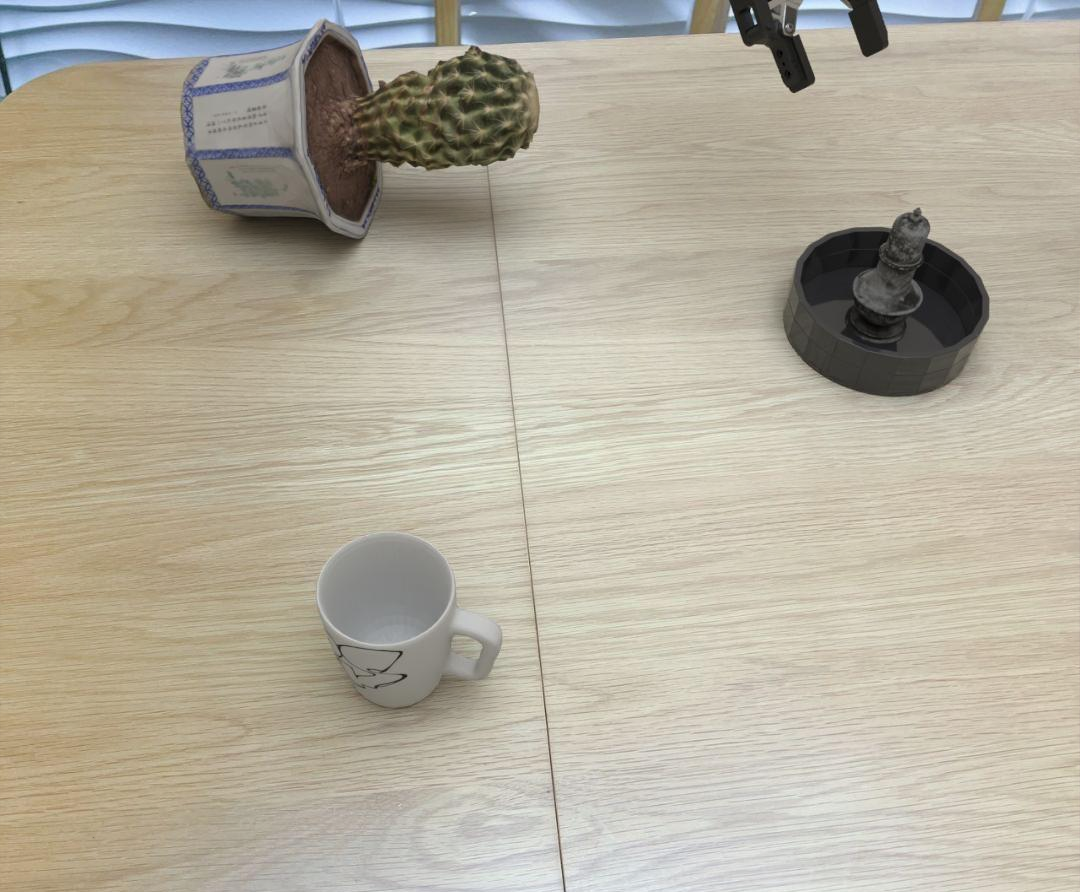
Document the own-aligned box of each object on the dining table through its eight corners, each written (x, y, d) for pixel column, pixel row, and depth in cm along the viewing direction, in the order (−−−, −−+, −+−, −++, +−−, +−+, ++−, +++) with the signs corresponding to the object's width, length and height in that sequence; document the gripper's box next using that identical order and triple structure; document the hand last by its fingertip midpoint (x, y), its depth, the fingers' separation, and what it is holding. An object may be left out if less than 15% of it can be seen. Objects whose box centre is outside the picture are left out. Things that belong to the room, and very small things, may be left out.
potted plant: (130, 112, 86) (499, 57, 79) (200, 5, 97) (528, -51, 90) (224, 291, 99) (547, 258, 92) (276, 179, 110) (567, 141, 103)
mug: (516, 638, 76) (518, 555, 68) (485, 747, 71) (483, 672, 63) (358, 604, 77) (342, 518, 69) (316, 708, 72) (294, 630, 64)
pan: (865, 243, 102) (879, 203, 98) (1008, 340, 95) (1029, 301, 91) (744, 316, 96) (754, 276, 92) (888, 426, 88) (904, 387, 85)
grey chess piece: (839, 296, 97) (877, 181, 87) (906, 302, 97) (952, 187, 87) (844, 343, 93) (884, 228, 84) (913, 349, 93) (961, 235, 83)
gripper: (726, -147, 74) (813, 85, 79) (863, -197, 80) (937, 22, 84) (663, -95, 81) (746, 117, 85) (794, -144, 87) (866, 57, 91)
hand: (841, 70), depth 85 cm, fingers open, 8 cm apart
